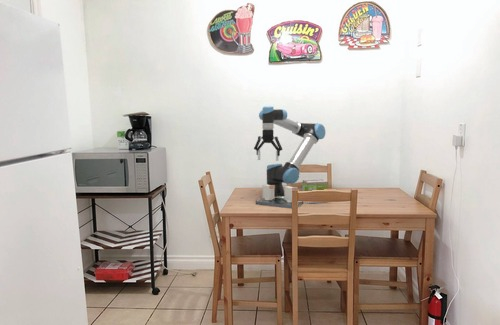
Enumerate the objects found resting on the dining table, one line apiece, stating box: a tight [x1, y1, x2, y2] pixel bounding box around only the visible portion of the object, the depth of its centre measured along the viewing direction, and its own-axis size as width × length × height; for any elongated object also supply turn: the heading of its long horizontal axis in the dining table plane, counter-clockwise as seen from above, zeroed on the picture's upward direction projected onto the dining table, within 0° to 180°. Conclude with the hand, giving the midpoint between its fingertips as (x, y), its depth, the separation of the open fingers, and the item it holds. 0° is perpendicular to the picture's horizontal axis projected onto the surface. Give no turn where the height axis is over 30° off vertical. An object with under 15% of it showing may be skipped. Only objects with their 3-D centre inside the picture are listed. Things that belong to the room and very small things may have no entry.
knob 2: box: [283, 185, 299, 203], centre depth 232 cm, size 8×5×10 cm, turn 41°
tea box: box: [301, 178, 329, 204], centre depth 241 cm, size 15×10×15 cm
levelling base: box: [255, 195, 304, 209], centre depth 236 cm, size 16×28×4 cm, turn 64°
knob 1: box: [262, 183, 275, 201], centre depth 239 cm, size 8×5×10 cm, turn 39°
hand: (268, 160), depth 241 cm, fingers open, 13 cm apart
